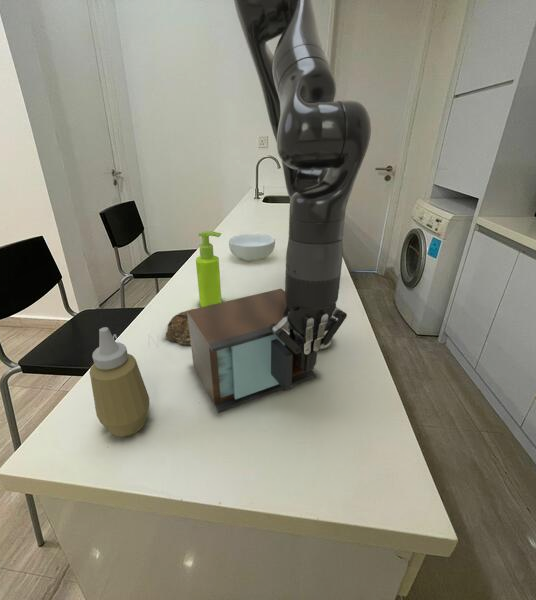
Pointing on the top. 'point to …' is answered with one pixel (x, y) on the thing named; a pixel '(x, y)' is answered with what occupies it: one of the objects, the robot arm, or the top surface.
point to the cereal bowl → (252, 246)
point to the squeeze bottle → (118, 387)
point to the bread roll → (179, 329)
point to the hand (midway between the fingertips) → (305, 367)
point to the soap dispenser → (208, 272)
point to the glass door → (261, 365)
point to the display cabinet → (235, 342)
